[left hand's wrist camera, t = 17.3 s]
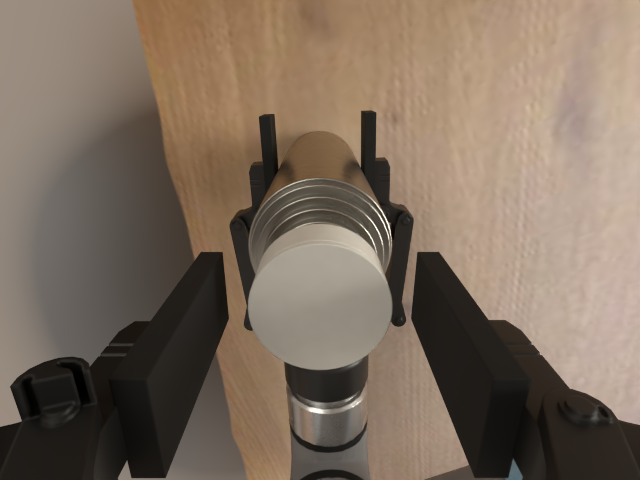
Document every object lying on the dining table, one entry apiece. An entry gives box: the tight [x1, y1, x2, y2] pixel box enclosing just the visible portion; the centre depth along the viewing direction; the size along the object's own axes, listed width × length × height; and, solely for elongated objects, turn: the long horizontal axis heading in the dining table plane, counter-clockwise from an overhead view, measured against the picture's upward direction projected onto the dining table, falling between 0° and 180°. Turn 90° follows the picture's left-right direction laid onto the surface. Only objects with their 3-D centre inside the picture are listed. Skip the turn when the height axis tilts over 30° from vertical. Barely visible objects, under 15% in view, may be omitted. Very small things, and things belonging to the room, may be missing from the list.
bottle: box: [248, 131, 392, 274], centre depth 25 cm, size 6×6×24 cm
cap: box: [248, 224, 393, 370], centre depth 14 cm, size 5×5×2 cm
